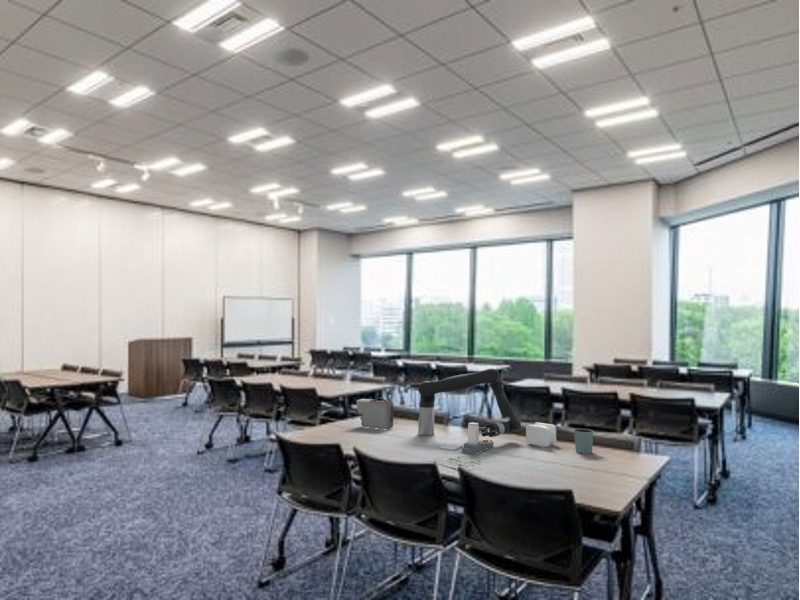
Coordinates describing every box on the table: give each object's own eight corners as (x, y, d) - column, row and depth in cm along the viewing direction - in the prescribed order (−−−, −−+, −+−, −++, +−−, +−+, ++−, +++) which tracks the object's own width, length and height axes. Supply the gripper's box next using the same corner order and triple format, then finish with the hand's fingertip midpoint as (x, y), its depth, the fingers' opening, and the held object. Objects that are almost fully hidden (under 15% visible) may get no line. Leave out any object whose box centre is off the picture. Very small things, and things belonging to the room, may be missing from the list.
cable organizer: (557, 445, 313) (557, 425, 314) (547, 448, 306) (547, 427, 306) (535, 441, 324) (535, 421, 325) (525, 444, 317) (525, 424, 317)
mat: (440, 448, 306) (440, 447, 306) (447, 445, 313) (447, 444, 313) (454, 450, 301) (454, 449, 301) (461, 447, 308) (461, 446, 308)
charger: (468, 446, 299) (468, 423, 299) (471, 445, 302) (471, 422, 303) (475, 448, 296) (475, 424, 297) (478, 446, 300) (478, 423, 300)
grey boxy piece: (363, 424, 373) (363, 380, 374) (394, 427, 364) (395, 382, 365) (354, 427, 362) (355, 382, 363) (387, 430, 353) (387, 384, 354)
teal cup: (593, 455, 291) (593, 432, 292) (573, 453, 295) (573, 431, 295) (593, 450, 301) (593, 429, 301) (574, 449, 304) (574, 427, 305)
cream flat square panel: (423, 460, 282) (423, 457, 282) (464, 452, 300) (464, 450, 300) (464, 473, 258) (464, 469, 258) (506, 464, 276) (506, 461, 276)
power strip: (462, 452, 296) (462, 444, 297) (485, 442, 322) (485, 434, 322) (475, 454, 292) (475, 446, 292) (497, 443, 317) (497, 436, 317)
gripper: (485, 421, 318) (466, 424, 307) (504, 424, 307) (486, 428, 296) (485, 434, 317) (466, 438, 307) (504, 438, 307) (486, 442, 296)
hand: (476, 433), depth 301 cm, fingers open, 8 cm apart
